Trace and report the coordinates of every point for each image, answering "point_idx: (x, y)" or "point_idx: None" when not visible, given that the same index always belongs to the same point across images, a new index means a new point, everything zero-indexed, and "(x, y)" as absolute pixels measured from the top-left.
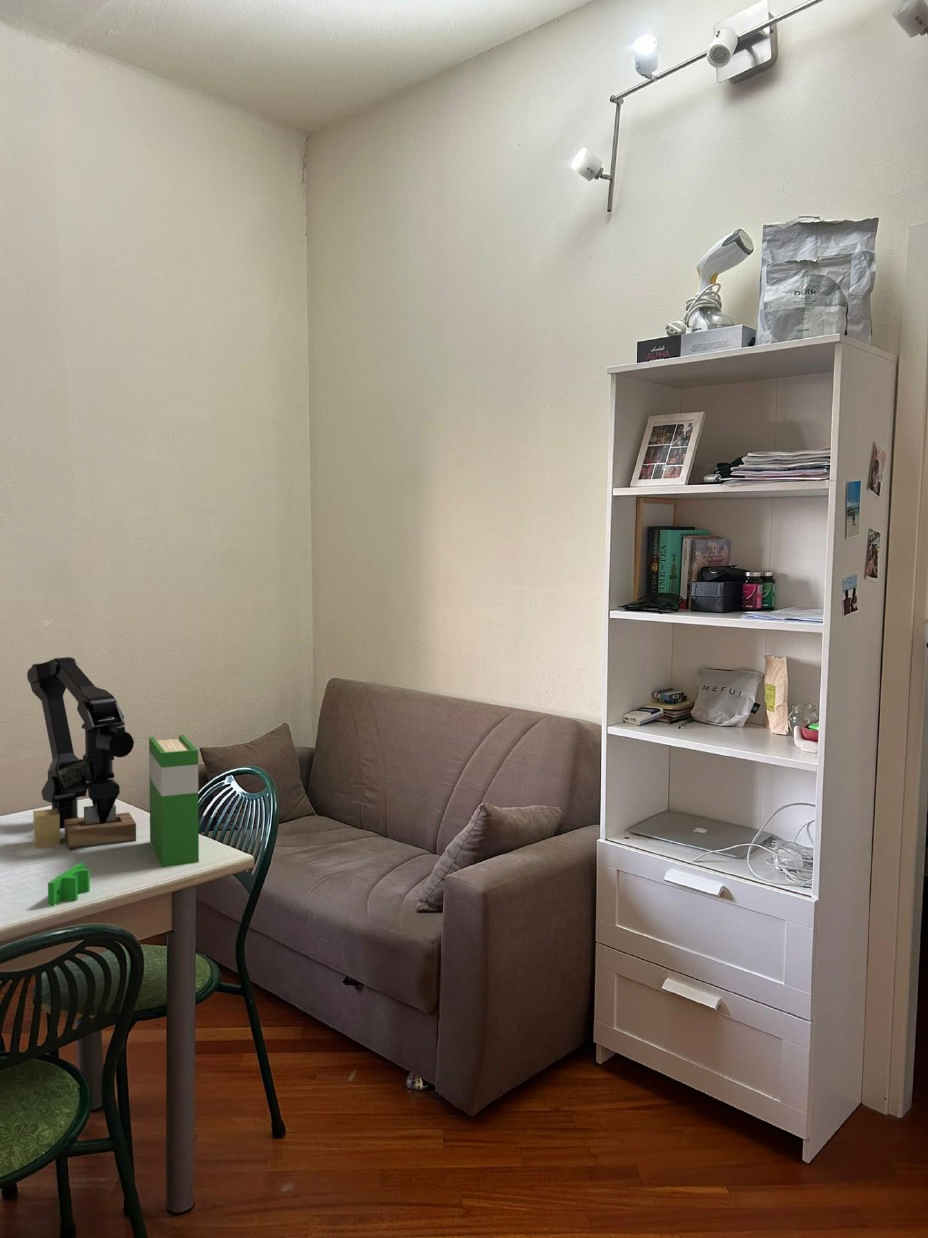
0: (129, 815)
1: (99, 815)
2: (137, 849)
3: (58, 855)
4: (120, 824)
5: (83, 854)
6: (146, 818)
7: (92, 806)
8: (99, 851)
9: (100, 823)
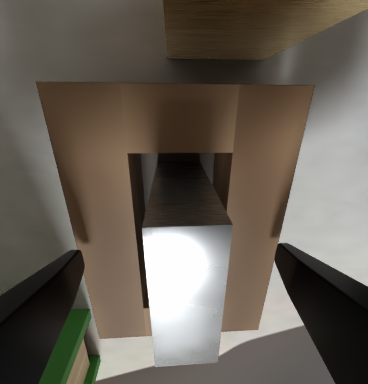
0: None
1: (24, 286)
2: None
3: (9, 32)
4: (104, 302)
5: (8, 137)
6: None
7: (208, 275)
8: (36, 191)
9: (71, 251)
